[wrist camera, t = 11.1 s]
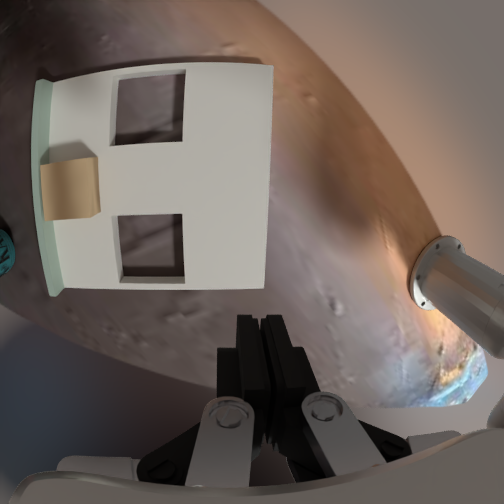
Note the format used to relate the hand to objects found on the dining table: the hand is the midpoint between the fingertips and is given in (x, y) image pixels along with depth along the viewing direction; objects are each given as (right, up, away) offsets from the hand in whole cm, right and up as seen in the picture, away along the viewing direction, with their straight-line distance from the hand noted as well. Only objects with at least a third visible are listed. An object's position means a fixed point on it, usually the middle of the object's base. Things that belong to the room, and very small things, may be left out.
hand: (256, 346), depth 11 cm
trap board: (-11, +12, +19) cm, 25 cm away
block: (-19, +11, +16) cm, 27 cm away
